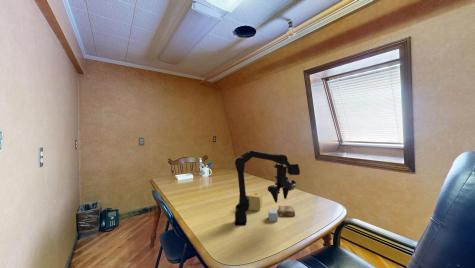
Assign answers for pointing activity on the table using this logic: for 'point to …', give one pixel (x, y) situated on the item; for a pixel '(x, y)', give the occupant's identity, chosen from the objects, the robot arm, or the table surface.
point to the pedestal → (286, 211)
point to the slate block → (273, 215)
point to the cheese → (255, 200)
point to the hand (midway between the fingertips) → (280, 200)
